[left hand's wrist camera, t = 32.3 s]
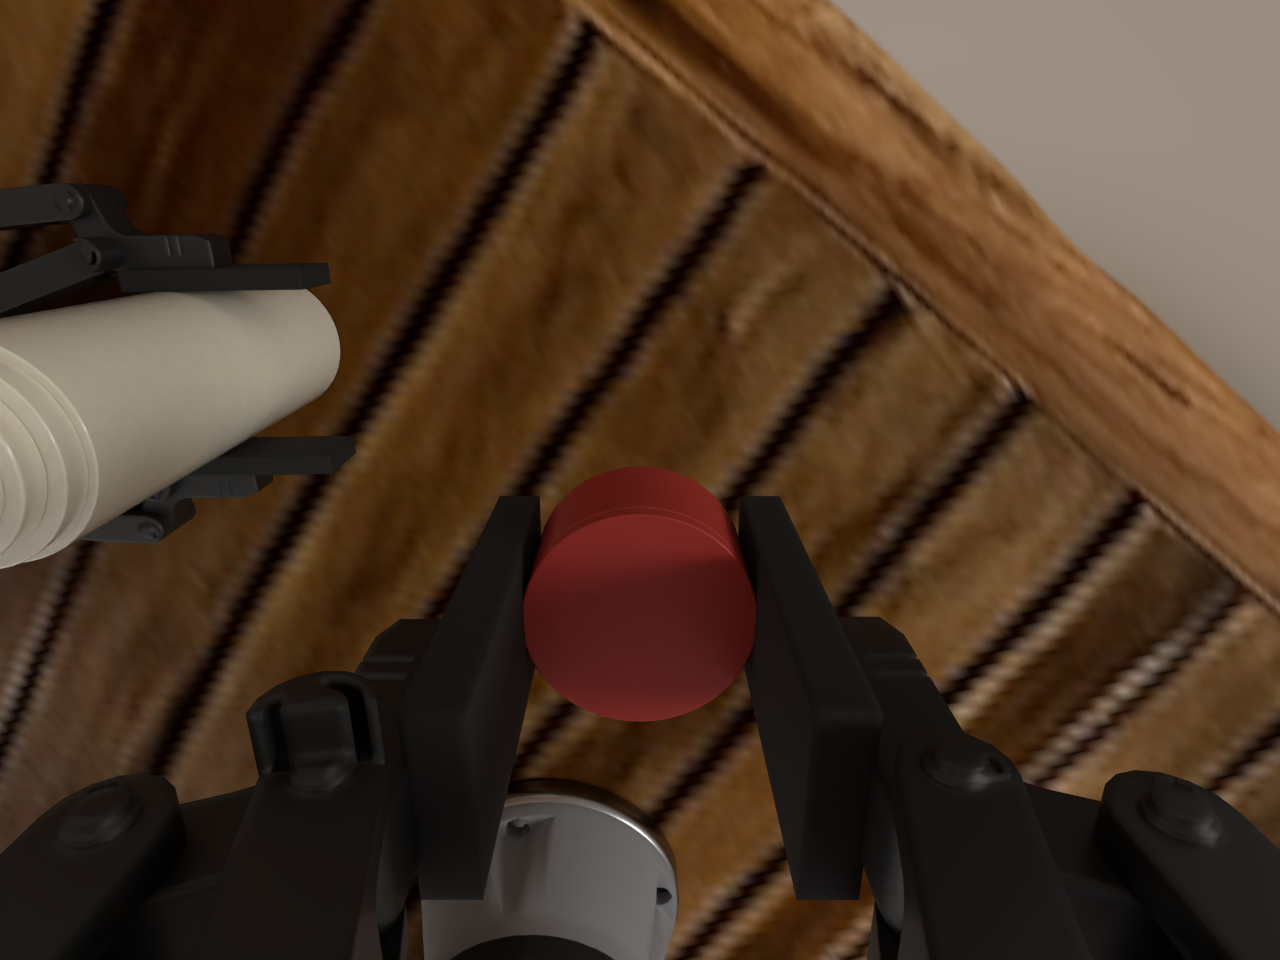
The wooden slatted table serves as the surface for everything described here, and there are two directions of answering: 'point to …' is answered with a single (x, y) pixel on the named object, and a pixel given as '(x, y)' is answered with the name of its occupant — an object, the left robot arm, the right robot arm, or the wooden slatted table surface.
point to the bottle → (142, 399)
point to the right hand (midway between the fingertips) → (328, 368)
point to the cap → (639, 596)
